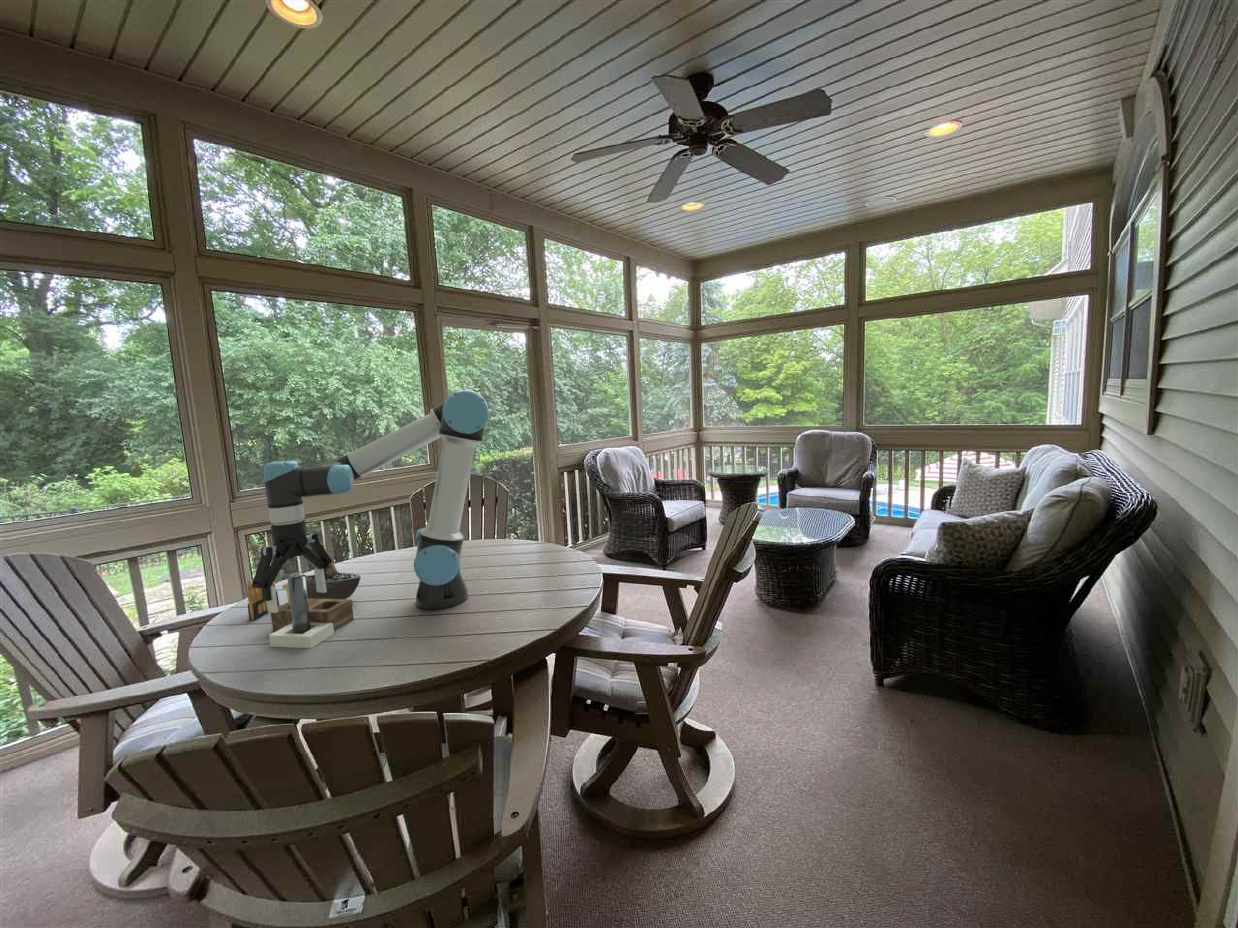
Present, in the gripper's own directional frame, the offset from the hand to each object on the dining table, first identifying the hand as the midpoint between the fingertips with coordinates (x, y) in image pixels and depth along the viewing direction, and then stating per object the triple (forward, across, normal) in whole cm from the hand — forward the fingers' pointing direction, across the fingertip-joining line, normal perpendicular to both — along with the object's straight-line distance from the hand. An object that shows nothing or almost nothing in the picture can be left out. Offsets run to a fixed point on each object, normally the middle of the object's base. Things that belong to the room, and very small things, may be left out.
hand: (298, 601), depth 132 cm
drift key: (+8, -7, -10) cm, 15 cm away
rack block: (+10, 0, 0) cm, 10 cm away
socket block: (+10, -8, -6) cm, 14 cm away
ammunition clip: (+11, -10, -29) cm, 33 cm away
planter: (+11, -21, -16) cm, 28 cm away
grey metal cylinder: (+9, 0, 0) cm, 9 cm away
